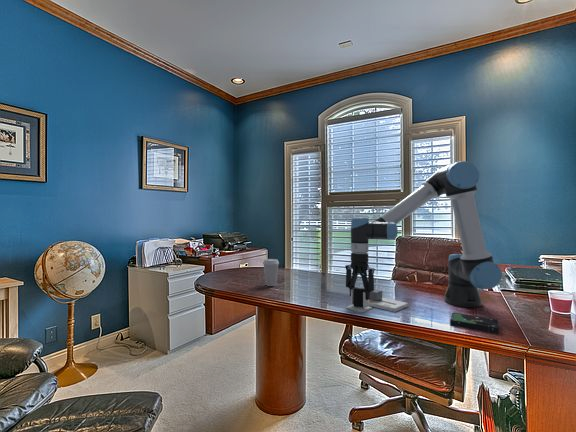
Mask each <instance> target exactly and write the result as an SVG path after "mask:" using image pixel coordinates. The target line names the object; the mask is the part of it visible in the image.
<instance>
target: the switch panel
mask: <svg viewBox="0 0 576 432" xmlns="http://www.w3.org/2000/svg"><path fill="white" fill-rule="evenodd" d="M368 306H369V307H372V308H377V309H381V310H385V311H390V312H393V313H396V312H398V311H401V310H402V309H406V308H407V307H408V306H409V303H408V302H404V301H400V300H395V299H390V298H386V297H382V300H379V301H373V300H368Z"/></svg>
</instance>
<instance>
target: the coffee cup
mask: <svg viewBox="0 0 576 432" xmlns="http://www.w3.org/2000/svg"><path fill="white" fill-rule="evenodd" d="M262 264H263V272H264V286H265V285H267V286H275V287H277V283H278V273H279V265H280V262H279V260H278V258H277V259H276V258H267V259H264V260H263V262H262ZM267 286H266V287H267Z"/></svg>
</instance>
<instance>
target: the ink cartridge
mask: <svg viewBox="0 0 576 432" xmlns="http://www.w3.org/2000/svg"><path fill="white" fill-rule="evenodd" d="M363 292H365V290H364V287H358V286H355V288H354V306H355V307H363Z"/></svg>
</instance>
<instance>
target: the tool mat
mask: <svg viewBox="0 0 576 432" xmlns="http://www.w3.org/2000/svg"><path fill="white" fill-rule="evenodd" d="M345 309H347V310H352V311H355V312H359V313H364V312H367V311H370V310H373V306H369V305H368V307H366V308H363V307H355V306H354V304H353V305H351V304H350V305H348V306H346V308H345Z"/></svg>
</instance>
